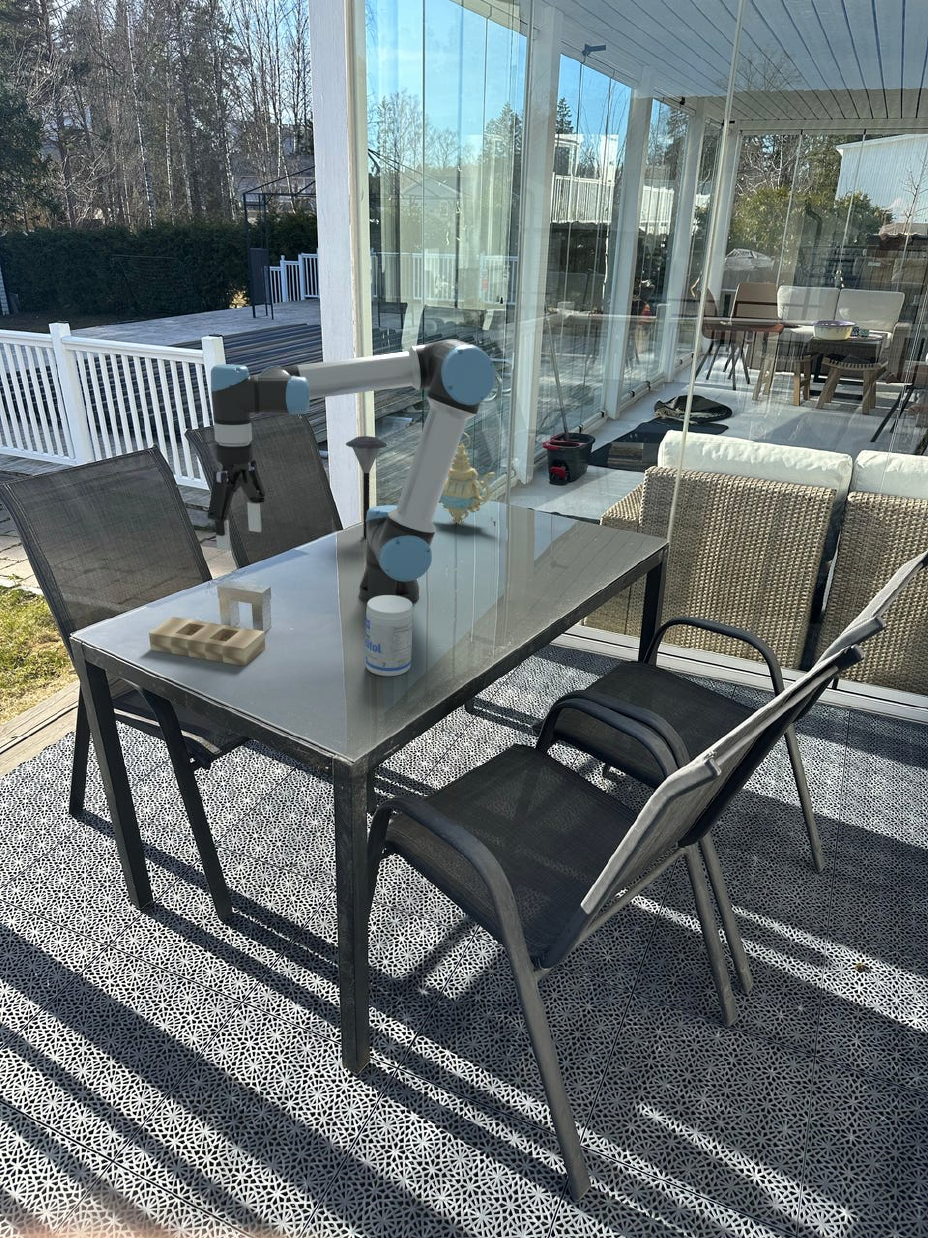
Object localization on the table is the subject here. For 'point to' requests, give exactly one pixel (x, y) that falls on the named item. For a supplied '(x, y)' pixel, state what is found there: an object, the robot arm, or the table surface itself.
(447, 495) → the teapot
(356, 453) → the solar garden light
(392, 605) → the supplement tub
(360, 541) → the table surface
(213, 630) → the wooden block with holes
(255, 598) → the grey u-shaped block
